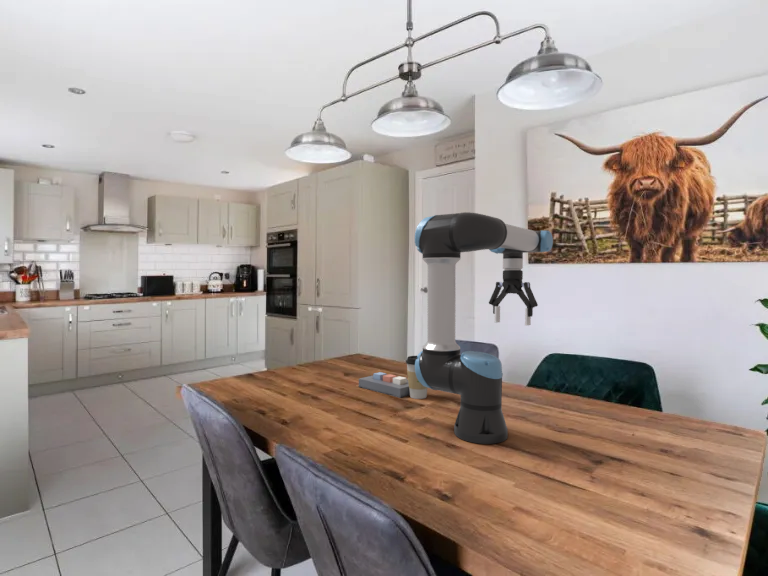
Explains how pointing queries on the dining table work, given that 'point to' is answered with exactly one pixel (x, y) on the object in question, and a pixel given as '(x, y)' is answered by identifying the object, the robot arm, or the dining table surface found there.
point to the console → (384, 387)
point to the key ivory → (399, 380)
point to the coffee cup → (414, 380)
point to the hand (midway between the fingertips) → (512, 323)
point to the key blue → (379, 375)
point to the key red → (388, 378)
